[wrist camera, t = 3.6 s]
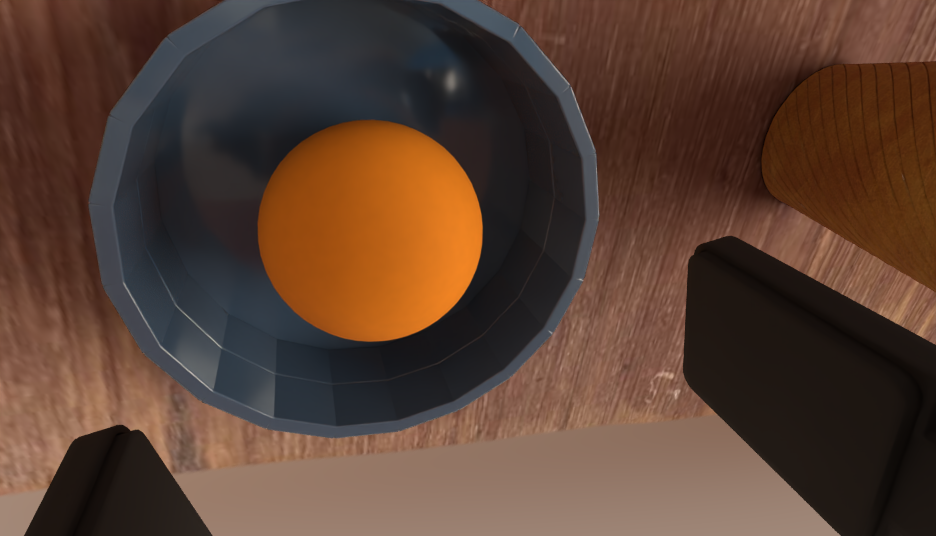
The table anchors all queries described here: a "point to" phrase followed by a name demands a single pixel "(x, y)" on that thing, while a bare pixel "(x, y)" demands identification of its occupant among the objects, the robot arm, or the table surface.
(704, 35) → the table surface
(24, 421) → the table surface
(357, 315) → the orange
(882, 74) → the disposable coffee cup
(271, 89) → the fruit bowl
